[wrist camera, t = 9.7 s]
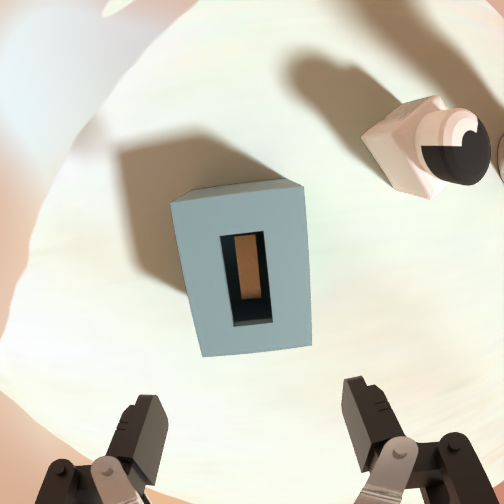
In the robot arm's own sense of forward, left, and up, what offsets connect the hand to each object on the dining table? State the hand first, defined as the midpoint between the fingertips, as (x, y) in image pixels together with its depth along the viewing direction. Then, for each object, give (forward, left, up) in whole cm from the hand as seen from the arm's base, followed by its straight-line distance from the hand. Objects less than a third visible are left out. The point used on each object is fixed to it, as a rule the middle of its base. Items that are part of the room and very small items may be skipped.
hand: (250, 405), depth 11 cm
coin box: (0, 0, -23) cm, 23 cm away
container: (-19, -10, -23) cm, 32 cm away
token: (0, 0, -22) cm, 22 cm away
